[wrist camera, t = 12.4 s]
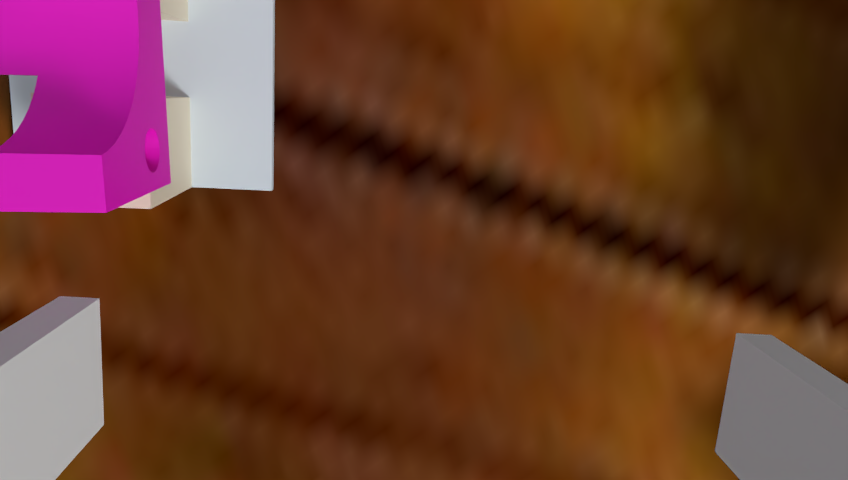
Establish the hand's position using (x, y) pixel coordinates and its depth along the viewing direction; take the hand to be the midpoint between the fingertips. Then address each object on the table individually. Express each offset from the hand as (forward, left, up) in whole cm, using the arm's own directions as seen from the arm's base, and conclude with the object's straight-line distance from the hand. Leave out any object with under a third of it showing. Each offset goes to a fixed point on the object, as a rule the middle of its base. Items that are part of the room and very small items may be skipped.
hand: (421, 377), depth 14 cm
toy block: (+14, -8, -19) cm, 25 cm away
